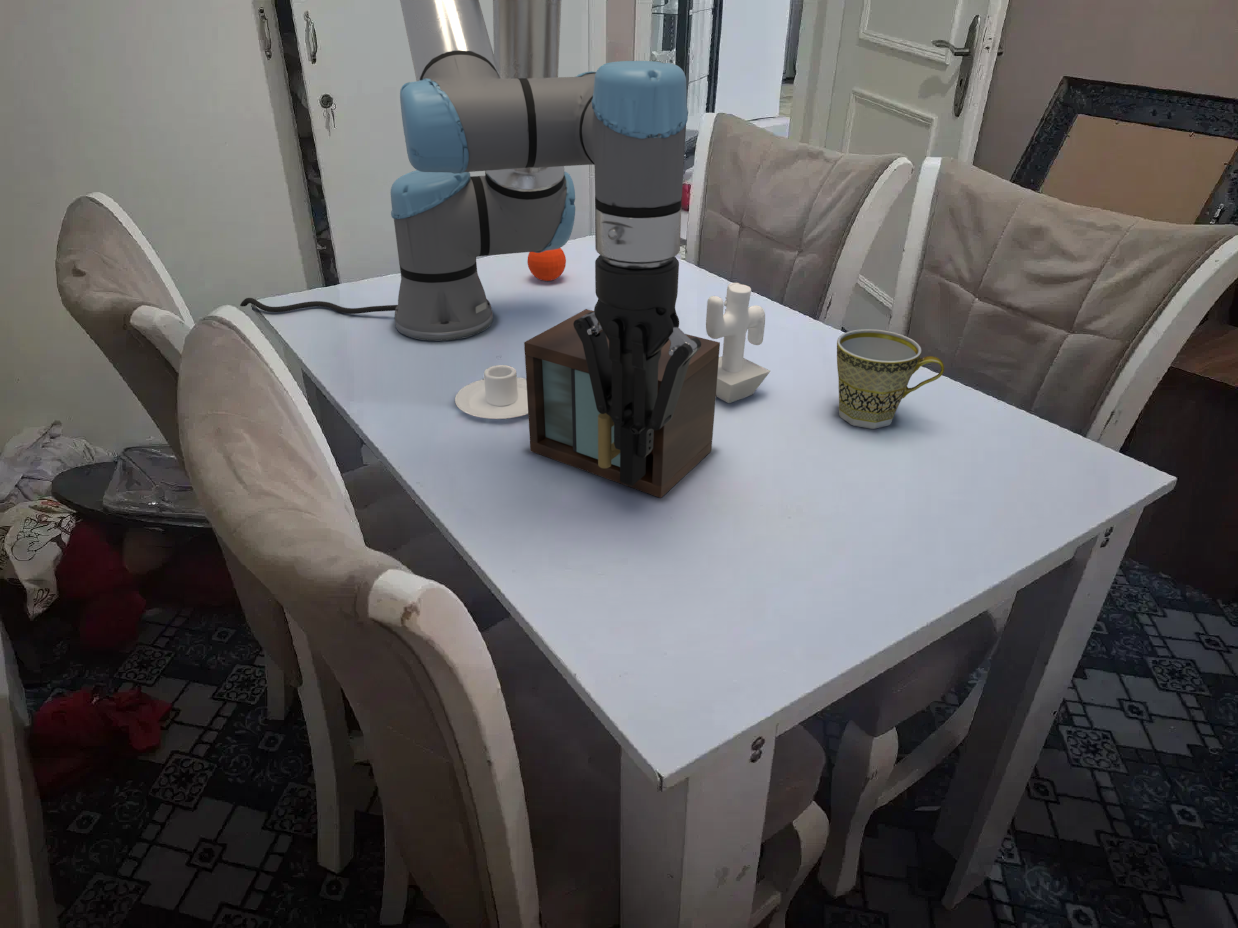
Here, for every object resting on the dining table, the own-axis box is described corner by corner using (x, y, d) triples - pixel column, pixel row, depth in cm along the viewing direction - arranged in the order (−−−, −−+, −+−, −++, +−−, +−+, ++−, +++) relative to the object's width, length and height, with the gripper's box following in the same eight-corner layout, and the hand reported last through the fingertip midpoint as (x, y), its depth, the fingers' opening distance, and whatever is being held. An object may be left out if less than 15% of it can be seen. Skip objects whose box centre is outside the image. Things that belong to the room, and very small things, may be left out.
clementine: (533, 271, 152) (531, 233, 149) (570, 272, 152) (569, 234, 148) (524, 285, 146) (522, 246, 142) (563, 287, 145) (562, 247, 141)
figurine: (773, 393, 110) (786, 286, 102) (722, 413, 106) (731, 302, 98) (736, 374, 115) (745, 271, 107) (685, 392, 110) (691, 285, 103)
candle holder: (526, 429, 101) (524, 398, 99) (439, 415, 104) (435, 385, 102) (560, 388, 111) (559, 359, 109) (479, 376, 114) (477, 348, 112)
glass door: (551, 467, 91) (547, 382, 85) (576, 448, 94) (574, 366, 89) (612, 489, 87) (613, 403, 81) (636, 469, 90) (638, 384, 85)
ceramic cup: (820, 427, 102) (832, 354, 97) (831, 393, 110) (842, 324, 105) (928, 446, 99) (947, 371, 93) (931, 410, 107) (948, 338, 101)
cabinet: (530, 451, 97) (523, 342, 90) (587, 411, 106) (586, 308, 98) (660, 498, 89) (665, 382, 81) (711, 451, 97) (720, 342, 90)
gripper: (553, 253, 73) (561, 475, 85) (680, 281, 67) (669, 515, 80) (599, 233, 78) (600, 445, 91) (721, 257, 72) (704, 480, 85)
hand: (632, 477), depth 85 cm, fingers closed
